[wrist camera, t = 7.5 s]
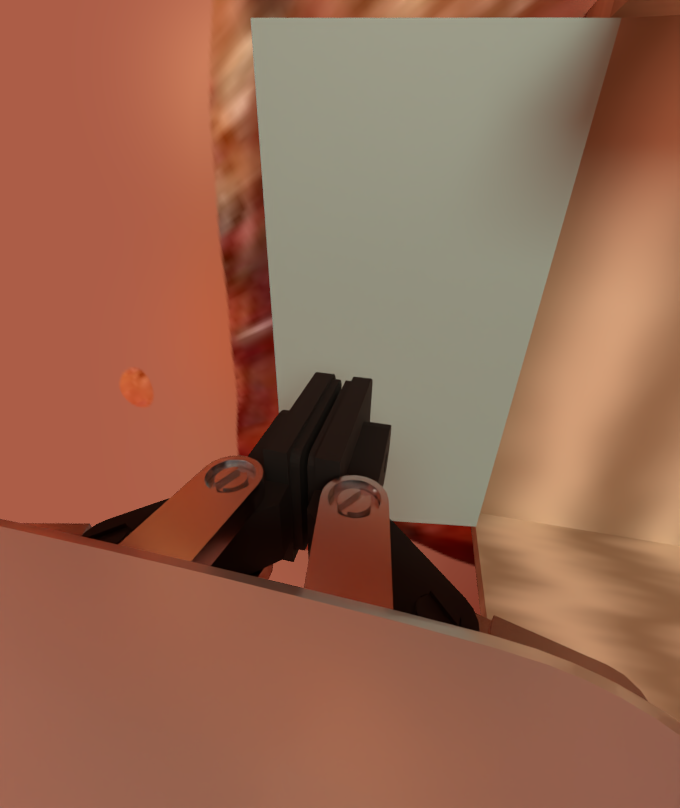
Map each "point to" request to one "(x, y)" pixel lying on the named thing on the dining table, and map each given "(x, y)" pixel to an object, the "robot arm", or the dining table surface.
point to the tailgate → (420, 220)
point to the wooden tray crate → (603, 391)
